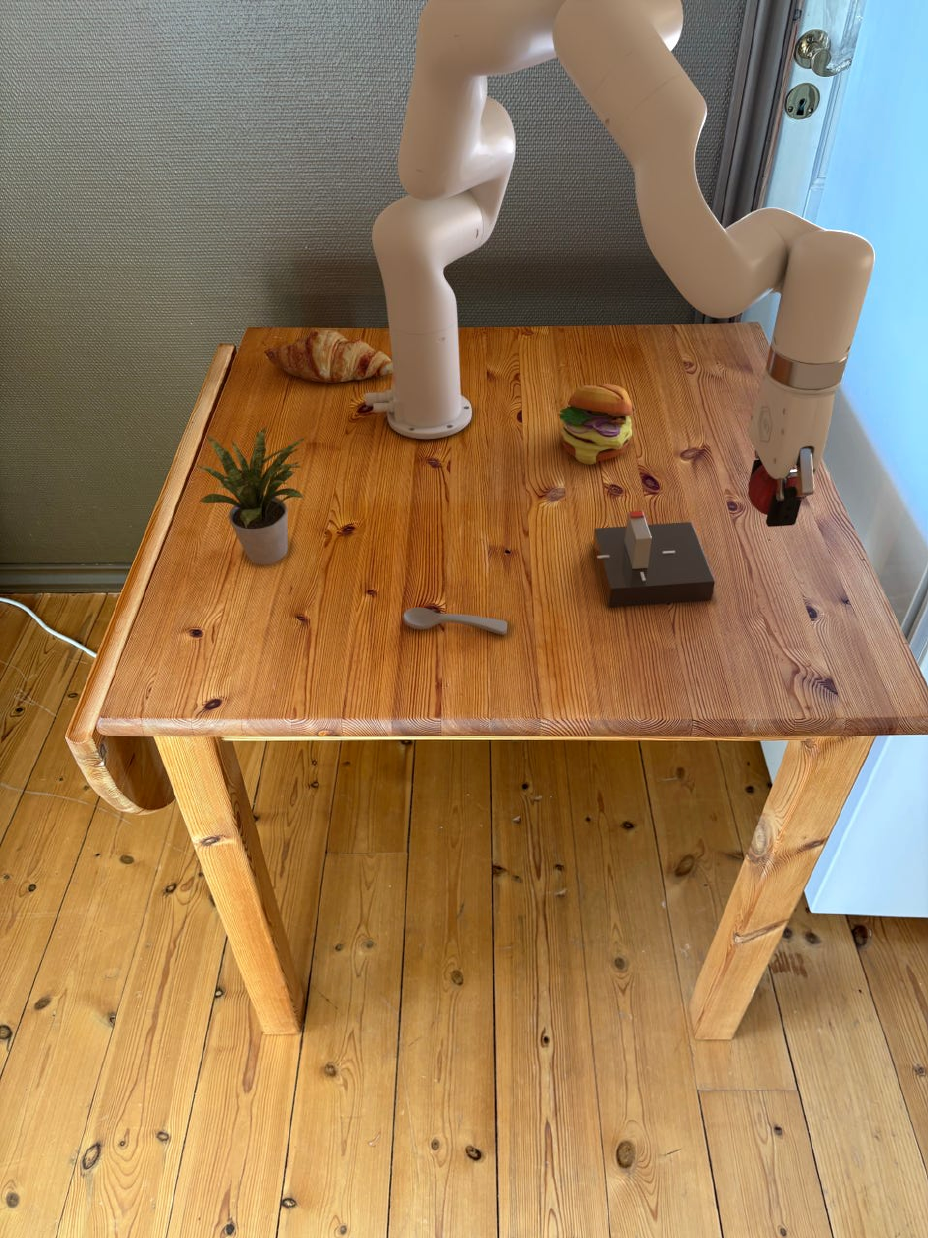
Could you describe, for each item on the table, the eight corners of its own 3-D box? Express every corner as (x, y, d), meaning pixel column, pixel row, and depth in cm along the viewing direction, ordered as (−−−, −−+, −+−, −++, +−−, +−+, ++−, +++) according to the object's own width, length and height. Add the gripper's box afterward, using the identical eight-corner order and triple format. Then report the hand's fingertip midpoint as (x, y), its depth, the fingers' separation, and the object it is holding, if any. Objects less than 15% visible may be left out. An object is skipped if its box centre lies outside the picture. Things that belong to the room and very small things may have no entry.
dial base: (603, 608, 107) (605, 588, 105) (588, 547, 115) (589, 527, 113) (711, 600, 108) (715, 580, 106) (688, 540, 116) (691, 520, 113)
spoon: (405, 613, 108) (405, 601, 106) (507, 626, 107) (508, 613, 106) (400, 631, 106) (400, 619, 104) (504, 644, 105) (506, 632, 103)
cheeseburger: (547, 460, 129) (553, 389, 124) (568, 436, 138) (575, 369, 132) (618, 473, 126) (628, 401, 121) (635, 448, 134) (645, 380, 129)
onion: (796, 532, 104) (812, 473, 99) (743, 527, 105) (756, 469, 99) (793, 501, 108) (808, 443, 103) (742, 497, 109) (755, 439, 104)
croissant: (401, 386, 151) (404, 335, 149) (387, 388, 142) (389, 334, 140) (277, 376, 154) (278, 325, 152) (254, 377, 145) (255, 324, 142)
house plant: (333, 585, 112) (313, 473, 101) (217, 603, 110) (183, 492, 99) (322, 514, 122) (303, 405, 111) (215, 530, 120) (185, 421, 109)
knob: (647, 568, 108) (652, 536, 104) (632, 569, 108) (636, 537, 104) (639, 540, 111) (643, 509, 108) (624, 541, 111) (627, 510, 108)
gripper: (744, 324, 99) (718, 465, 112) (797, 410, 87) (760, 557, 100) (813, 320, 99) (779, 460, 112) (876, 405, 87) (829, 552, 100)
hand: (771, 505), depth 106 cm, fingers closed on onion, 6 cm apart
